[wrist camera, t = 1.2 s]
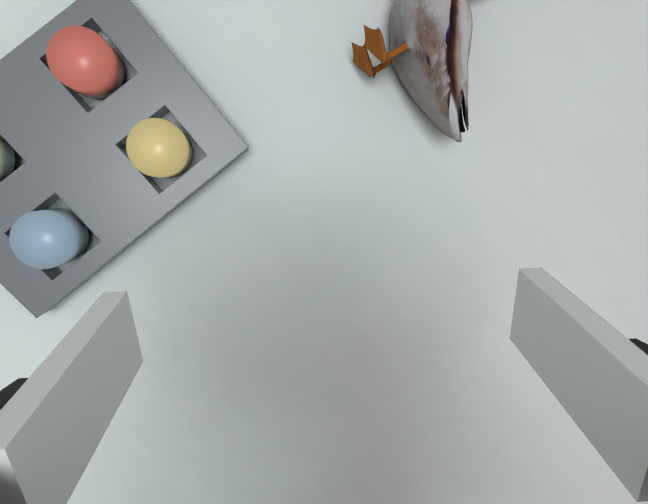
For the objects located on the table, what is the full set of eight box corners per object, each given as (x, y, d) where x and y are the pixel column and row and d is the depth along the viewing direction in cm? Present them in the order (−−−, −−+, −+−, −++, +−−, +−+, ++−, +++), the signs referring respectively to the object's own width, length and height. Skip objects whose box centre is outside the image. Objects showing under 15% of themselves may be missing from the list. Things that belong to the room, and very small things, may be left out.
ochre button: (162, 188, 38) (154, 188, 34) (125, 146, 37) (113, 142, 34) (203, 155, 38) (199, 152, 35) (167, 112, 37) (159, 105, 34)
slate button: (58, 272, 37) (40, 280, 34) (18, 231, 36) (-5, 236, 33) (100, 239, 37) (86, 243, 34) (61, 197, 37) (43, 198, 33)
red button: (93, 110, 36) (77, 102, 33) (52, 63, 35) (32, 51, 32) (136, 75, 36) (125, 64, 33) (96, 28, 35) (81, 12, 32)
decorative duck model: (514, -116, 34) (593, 66, 36) (461, -56, 41) (531, 93, 44) (349, -32, 32) (447, 157, 34) (325, 16, 39) (407, 169, 41)
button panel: (49, 309, 39) (36, 318, 36) (-102, 161, 35) (-128, 159, 33) (247, 149, 40) (247, 147, 37) (118, -11, 36) (108, -25, 34)
